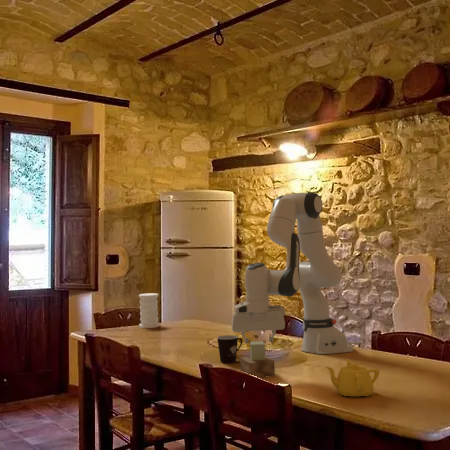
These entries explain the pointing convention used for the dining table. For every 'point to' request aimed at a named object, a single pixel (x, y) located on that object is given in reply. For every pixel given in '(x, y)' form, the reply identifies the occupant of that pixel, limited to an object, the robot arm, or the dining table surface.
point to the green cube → (257, 350)
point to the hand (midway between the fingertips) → (258, 342)
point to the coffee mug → (228, 348)
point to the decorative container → (149, 310)
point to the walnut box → (258, 366)
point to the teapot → (354, 380)
